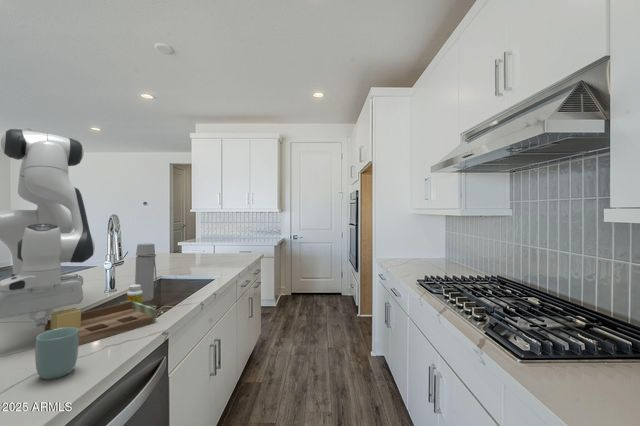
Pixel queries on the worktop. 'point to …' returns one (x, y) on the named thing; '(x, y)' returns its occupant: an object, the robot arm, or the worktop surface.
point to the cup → (56, 352)
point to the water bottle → (145, 270)
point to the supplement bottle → (135, 294)
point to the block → (66, 318)
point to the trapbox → (112, 320)
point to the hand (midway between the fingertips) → (39, 325)
